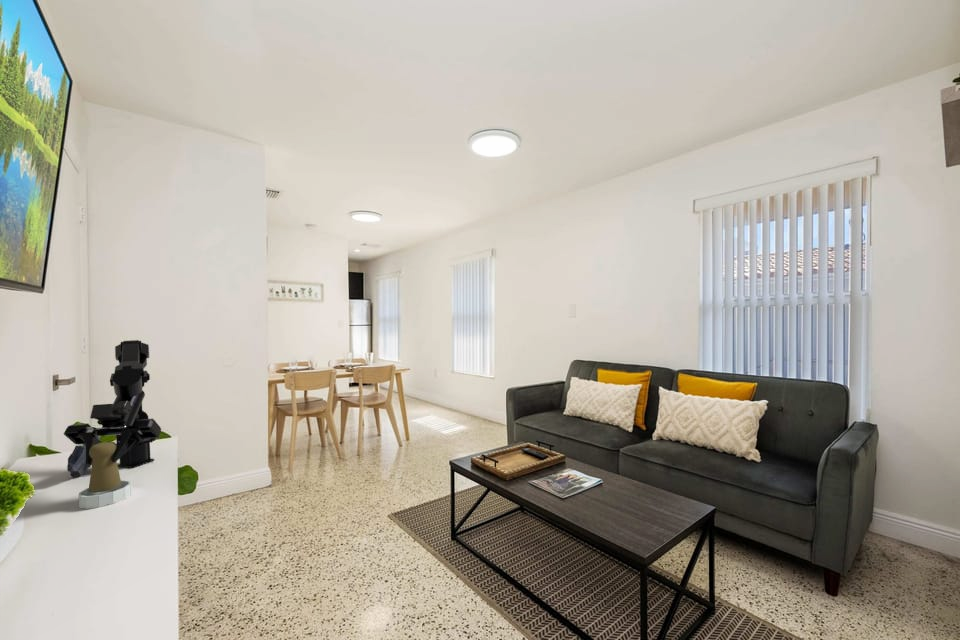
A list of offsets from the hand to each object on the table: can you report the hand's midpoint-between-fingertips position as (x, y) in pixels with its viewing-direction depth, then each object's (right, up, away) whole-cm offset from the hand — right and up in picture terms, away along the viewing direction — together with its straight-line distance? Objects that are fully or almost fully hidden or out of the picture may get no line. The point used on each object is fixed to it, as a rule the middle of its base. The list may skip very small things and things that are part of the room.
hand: (100, 462), depth 100 cm
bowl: (0, -10, +1) cm, 10 cm away
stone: (-22, -10, +18) cm, 30 cm away
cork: (0, -7, +2) cm, 7 cm away
